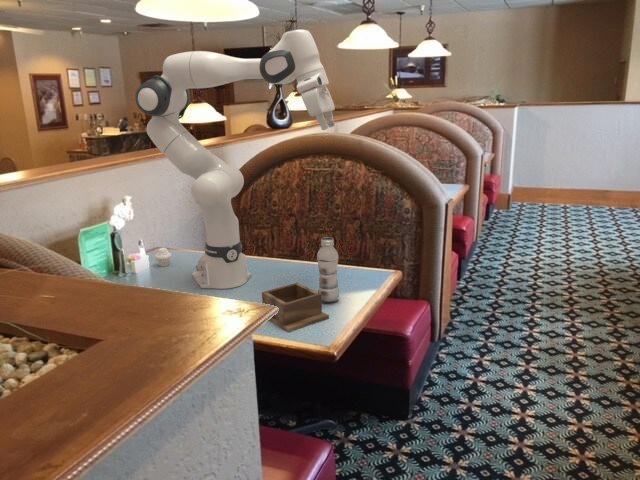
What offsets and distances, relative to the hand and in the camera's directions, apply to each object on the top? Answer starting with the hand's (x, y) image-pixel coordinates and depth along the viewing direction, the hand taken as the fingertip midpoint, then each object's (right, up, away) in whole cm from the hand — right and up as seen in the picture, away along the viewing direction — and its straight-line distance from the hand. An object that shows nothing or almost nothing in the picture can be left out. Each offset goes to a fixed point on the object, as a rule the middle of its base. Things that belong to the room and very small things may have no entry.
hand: (328, 128), depth 164 cm
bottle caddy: (-11, -56, -5) cm, 57 cm away
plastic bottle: (0, -53, +5) cm, 53 cm away
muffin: (-62, -44, +43) cm, 87 cm away
